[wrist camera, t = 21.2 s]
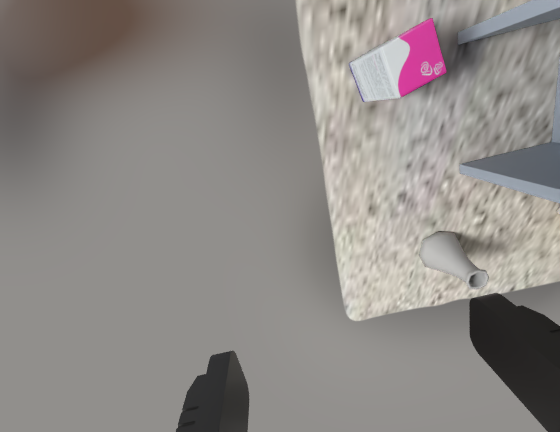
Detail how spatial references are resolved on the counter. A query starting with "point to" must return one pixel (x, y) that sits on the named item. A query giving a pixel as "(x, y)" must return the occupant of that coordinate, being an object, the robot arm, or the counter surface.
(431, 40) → the supplement box
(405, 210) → the counter surface
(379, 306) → the counter surface
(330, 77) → the counter surface
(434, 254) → the flask
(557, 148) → the shelf
